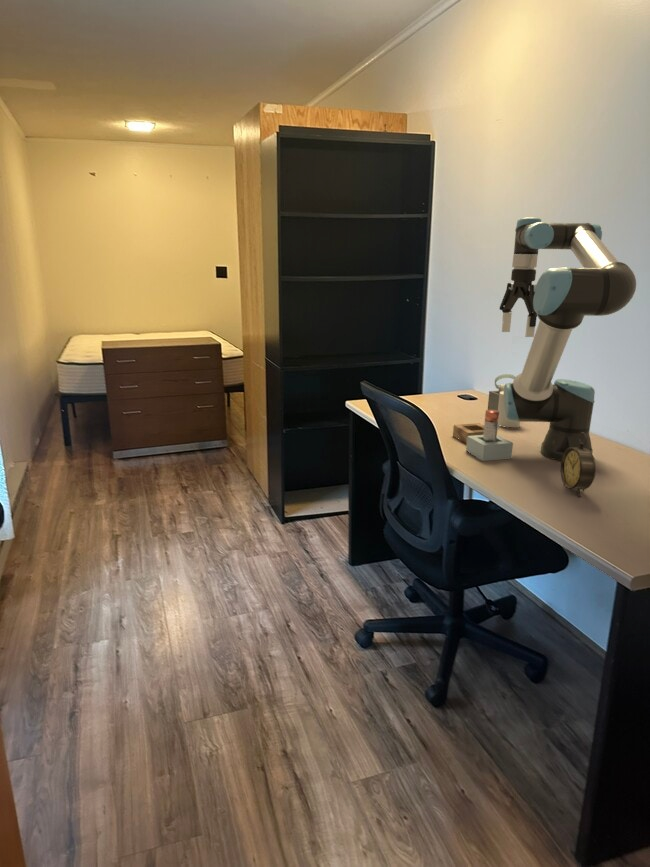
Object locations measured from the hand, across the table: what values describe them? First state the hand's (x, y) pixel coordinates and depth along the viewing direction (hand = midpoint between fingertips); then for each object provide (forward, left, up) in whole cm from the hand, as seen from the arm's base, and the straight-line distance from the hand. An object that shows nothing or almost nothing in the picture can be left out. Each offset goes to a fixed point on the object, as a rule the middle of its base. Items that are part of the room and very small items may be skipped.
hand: (517, 334), depth 198 cm
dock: (-19, +19, -35) cm, 44 cm away
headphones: (+25, -19, -32) cm, 45 cm away
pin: (-19, +19, -35) cm, 44 cm away
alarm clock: (-52, +13, -35) cm, 64 cm away
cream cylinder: (+10, -7, -35) cm, 37 cm away
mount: (-3, +15, -35) cm, 38 cm away
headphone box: (+23, -15, -35) cm, 44 cm away
